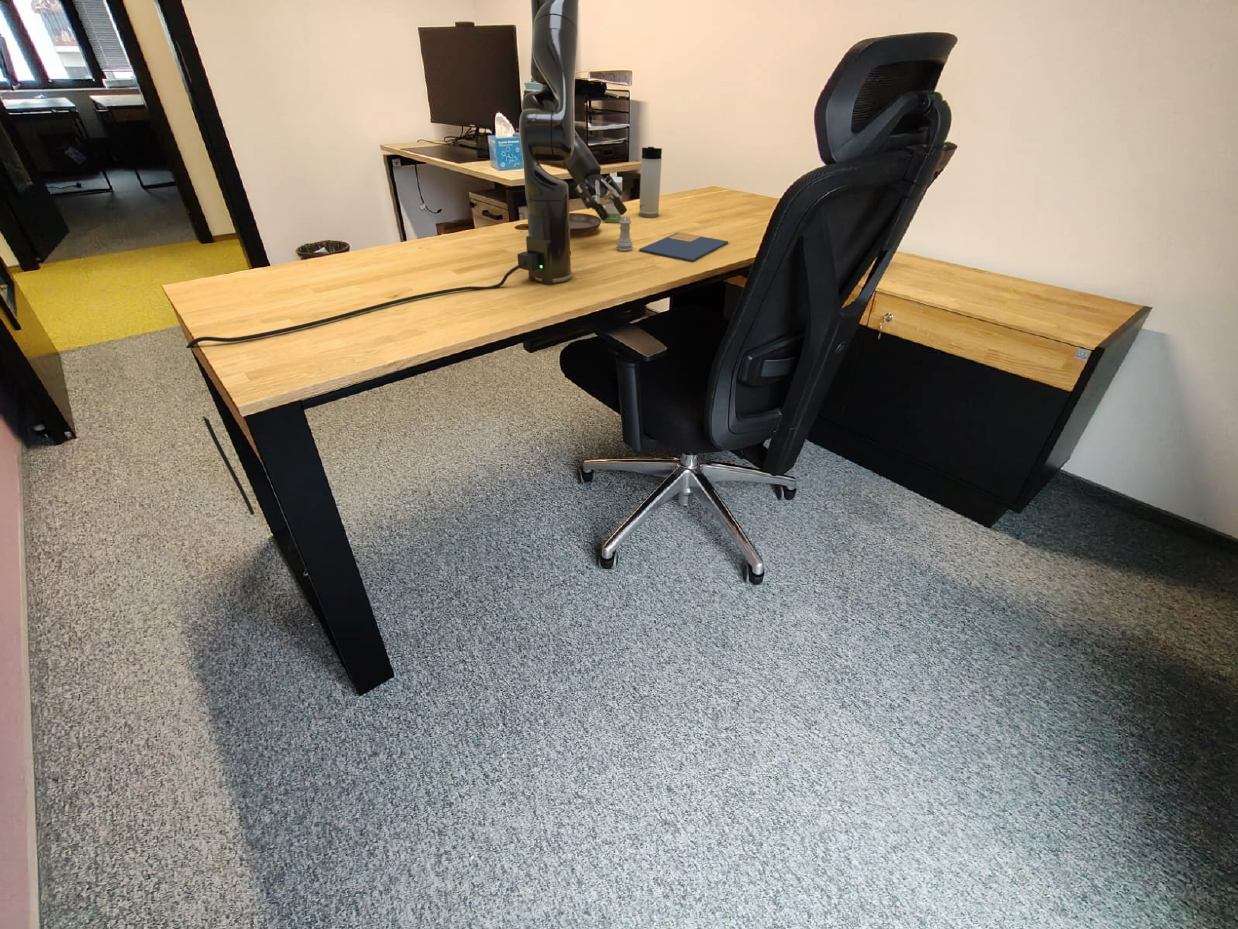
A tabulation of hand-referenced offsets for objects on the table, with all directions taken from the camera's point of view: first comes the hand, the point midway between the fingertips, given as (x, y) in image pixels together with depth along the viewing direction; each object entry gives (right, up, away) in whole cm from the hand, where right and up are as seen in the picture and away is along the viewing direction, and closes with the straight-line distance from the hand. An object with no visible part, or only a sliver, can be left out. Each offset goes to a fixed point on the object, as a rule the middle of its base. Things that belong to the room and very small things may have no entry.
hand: (615, 215), depth 147 cm
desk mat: (+19, -6, +6) cm, 21 cm away
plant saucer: (-13, +4, +18) cm, 23 cm away
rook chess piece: (+2, -8, +4) cm, 9 cm away
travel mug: (+11, +16, +36) cm, 41 cm away
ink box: (-1, +12, +30) cm, 33 cm away
